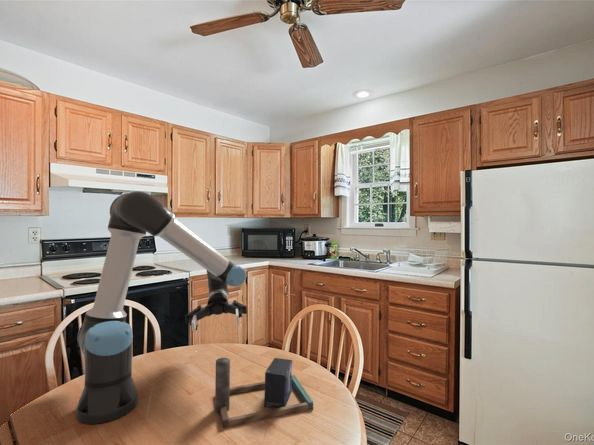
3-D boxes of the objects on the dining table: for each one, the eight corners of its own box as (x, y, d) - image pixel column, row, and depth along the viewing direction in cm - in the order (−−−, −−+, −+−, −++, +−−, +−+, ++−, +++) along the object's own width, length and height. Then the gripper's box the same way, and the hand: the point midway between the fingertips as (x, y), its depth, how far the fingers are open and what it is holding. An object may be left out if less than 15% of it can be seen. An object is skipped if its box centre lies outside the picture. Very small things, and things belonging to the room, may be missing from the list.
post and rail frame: (217, 428, 80) (218, 375, 80) (212, 395, 95) (213, 350, 95) (313, 408, 89) (313, 360, 89) (294, 381, 104) (294, 340, 104)
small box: (284, 411, 88) (285, 374, 88) (263, 408, 89) (263, 372, 89) (292, 391, 98) (293, 359, 98) (273, 389, 100) (273, 357, 100)
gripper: (251, 306, 119) (256, 327, 98) (184, 316, 114) (175, 341, 93) (249, 287, 119) (254, 305, 98) (182, 297, 113) (172, 318, 93)
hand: (215, 323), depth 95 cm, fingers open, 13 cm apart
